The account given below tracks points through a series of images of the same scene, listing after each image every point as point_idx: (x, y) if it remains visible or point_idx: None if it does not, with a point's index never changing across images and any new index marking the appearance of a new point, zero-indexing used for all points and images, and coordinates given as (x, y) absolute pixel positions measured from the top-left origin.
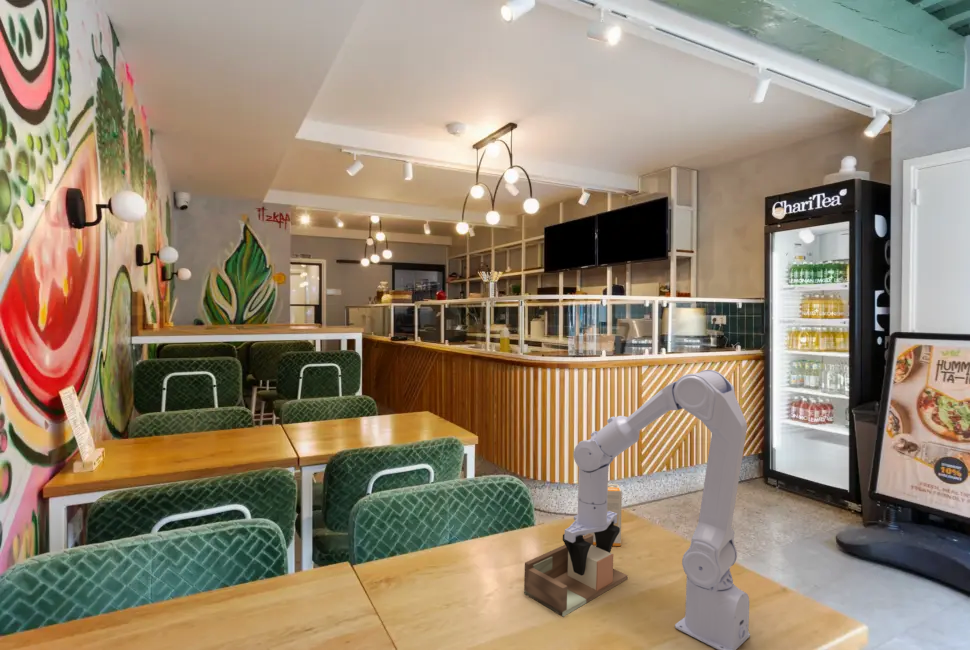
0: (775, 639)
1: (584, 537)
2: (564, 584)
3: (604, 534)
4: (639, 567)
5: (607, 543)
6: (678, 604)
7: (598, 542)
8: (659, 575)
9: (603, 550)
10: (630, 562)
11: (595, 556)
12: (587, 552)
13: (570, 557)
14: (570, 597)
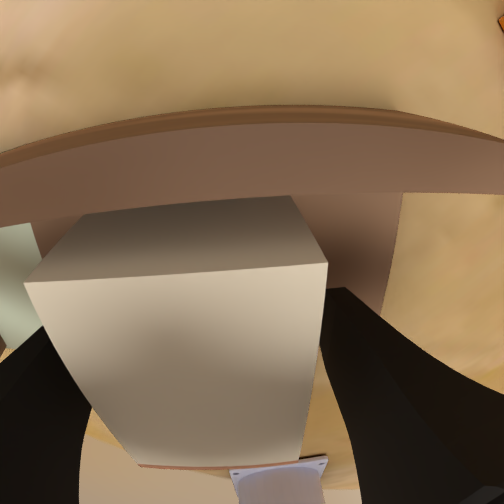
0: (332, 488)
1: (450, 161)
2: (52, 243)
3: (384, 499)
4: (468, 290)
5: (359, 454)
6: (328, 436)
7: (377, 385)
8: (447, 348)
9: (298, 432)
10: (486, 249)
11: (172, 448)
12: (74, 490)
13: (9, 357)
14: (37, 316)
